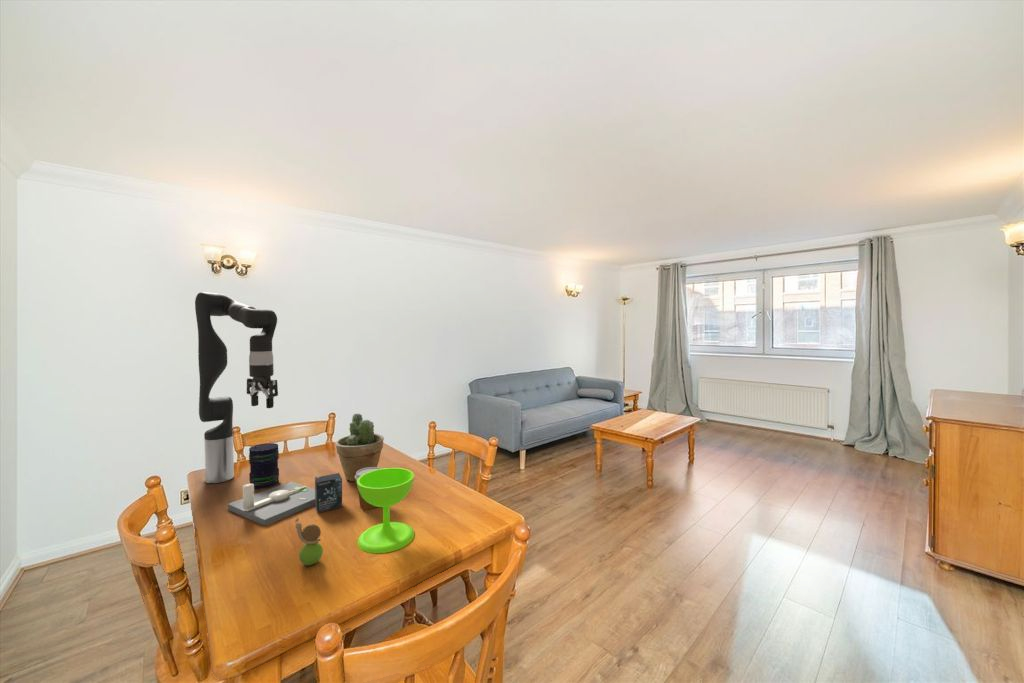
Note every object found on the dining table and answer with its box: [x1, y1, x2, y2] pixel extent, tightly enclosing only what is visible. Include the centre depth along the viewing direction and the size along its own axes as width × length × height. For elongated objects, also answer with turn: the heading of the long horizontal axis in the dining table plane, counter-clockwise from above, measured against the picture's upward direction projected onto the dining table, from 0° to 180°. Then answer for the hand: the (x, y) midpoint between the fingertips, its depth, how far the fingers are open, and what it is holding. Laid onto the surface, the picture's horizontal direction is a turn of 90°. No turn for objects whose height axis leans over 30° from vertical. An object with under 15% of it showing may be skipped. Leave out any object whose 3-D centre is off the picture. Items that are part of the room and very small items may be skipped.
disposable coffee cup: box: [355, 466, 383, 510], centre depth 136 cm, size 10×10×12 cm
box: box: [314, 472, 343, 514], centre depth 134 cm, size 8×6×11 cm
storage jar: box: [248, 442, 280, 491], centre depth 153 cm, size 10×10×15 cm
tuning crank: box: [242, 482, 308, 511], centre depth 136 cm, size 22×6×8 cm, turn 152°
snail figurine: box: [294, 517, 324, 566], centre depth 102 cm, size 5×6×12 cm
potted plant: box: [335, 413, 385, 483], centre depth 161 cm, size 18×19×25 cm
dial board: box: [227, 481, 315, 527], centre depth 137 cm, size 22×22×2 cm
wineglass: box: [356, 467, 415, 554], centre depth 115 cm, size 16×16×18 cm
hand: (262, 406), depth 145 cm, fingers open, 8 cm apart
